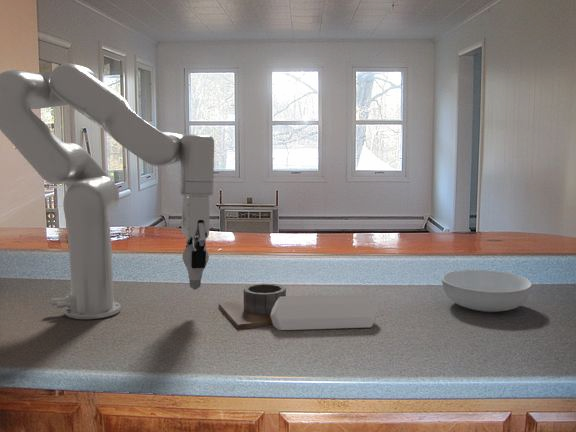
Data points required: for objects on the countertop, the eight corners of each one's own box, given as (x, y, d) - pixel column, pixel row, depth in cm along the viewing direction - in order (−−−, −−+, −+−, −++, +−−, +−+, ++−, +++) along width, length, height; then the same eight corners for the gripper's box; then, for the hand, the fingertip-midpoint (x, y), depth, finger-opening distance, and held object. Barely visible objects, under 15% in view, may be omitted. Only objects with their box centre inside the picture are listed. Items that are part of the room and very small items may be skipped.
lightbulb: (203, 294, 150) (204, 247, 148) (178, 291, 151) (178, 245, 149) (211, 287, 156) (212, 242, 154) (187, 285, 157) (188, 240, 155)
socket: (238, 329, 142) (237, 302, 141) (218, 307, 159) (218, 283, 158) (314, 320, 148) (314, 294, 147) (288, 300, 165) (288, 276, 164)
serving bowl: (434, 314, 153) (435, 285, 152) (447, 292, 172) (448, 266, 171) (529, 324, 145) (530, 294, 144) (531, 300, 164) (533, 273, 163)
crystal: (372, 300, 151) (268, 303, 149) (378, 292, 144) (270, 295, 142) (375, 332, 148) (270, 336, 146) (381, 326, 142) (271, 329, 140)
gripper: (174, 184, 157) (173, 257, 159) (187, 192, 141) (186, 274, 143) (204, 184, 159) (203, 256, 162) (221, 192, 143) (219, 272, 146)
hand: (195, 264), depth 153 cm, fingers closed on lightbulb, 6 cm apart
